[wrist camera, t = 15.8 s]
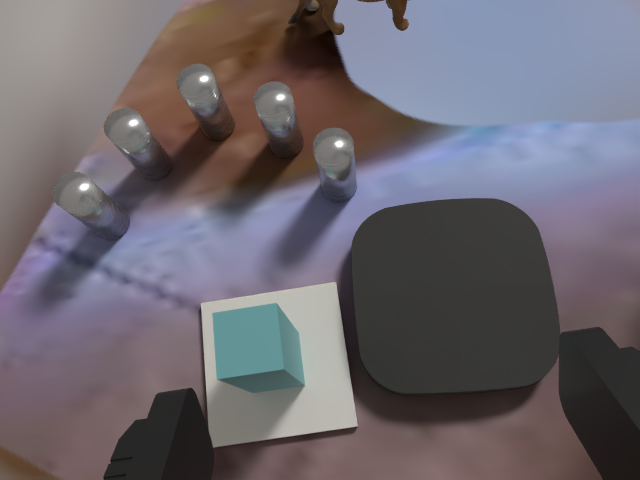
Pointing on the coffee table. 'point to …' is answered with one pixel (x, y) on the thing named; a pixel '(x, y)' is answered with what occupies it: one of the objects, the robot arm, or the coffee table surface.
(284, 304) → the tile
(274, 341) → the teal block
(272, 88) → the posts
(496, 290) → the media streaming box
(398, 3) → the lion figurine
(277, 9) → the coffee table surface
